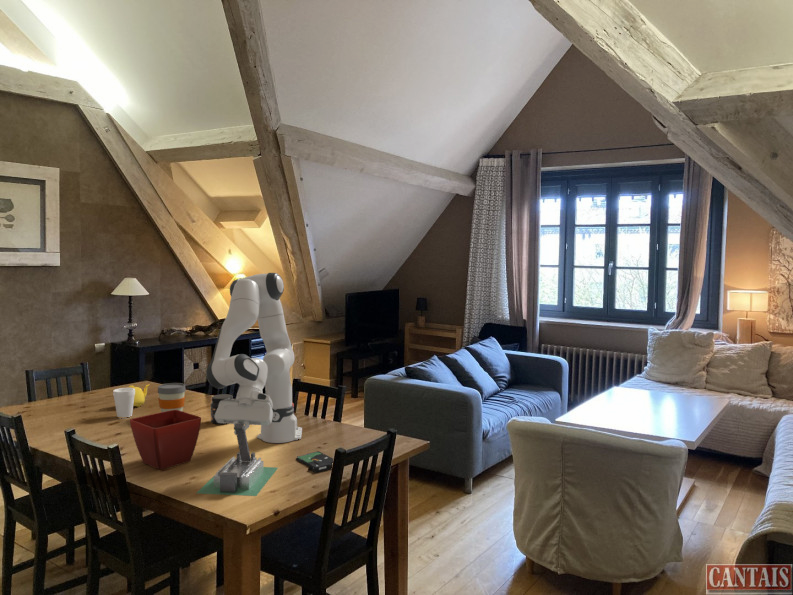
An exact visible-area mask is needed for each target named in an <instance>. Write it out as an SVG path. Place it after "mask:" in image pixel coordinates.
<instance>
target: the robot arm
mask: <svg viewBox="0 0 793 595" xmlns="http://www.w3.org/2000/svg"><path fill="white" fill-rule="evenodd" d="M284 291H285V285H284V280H283V278H282V276H281V275H280V274H279V273H277V272H268V273H257V274H253V275H250V276H249V275H248V276H246V277H241V278H236V279H235V280H233V281H232V282H231V283H230V286H229V295H230V301H229V308H228V311H227V314H226V317H225V319H224V321H223V323H222V325H221V327H220V329H219V332H218V335H217V338H216V343H215V347H214V351H213V353H212V357H211V360H210V362H209V363H208V365H207V368H206V372H205V373H206V374H205V375H206V380H207V381H208V384H210V385H211V386H212V387H214V388H215V389H219V390H222V389H224V388H227V387H228V386H231V385H234V384H238V385H239V387H238V390H237V393H236V397H235V398H233V399H224V400H221V401H220V402H219V405H218V408H217V411H216V413H215V416H214V417H215V420H216V421H217V423H227V425H230V424H231V425H233V427H234V426H235V424H244V426H245V432H246V431H247V430H248V429H249V427H250V425H252V426H253V425H254V426H260V433H259V434H257V436H256V438H257V439H259V440H261V441H263V442H265V443H268V444H269V443H271V444H282V443H288V442H293V441H298V439H299V440H301V439H302V433H303V427H300V426H298V418H297V417H296V415H295V414H294V413H295V412H294V407H295V406H294V405H295V404H294V402H293V385H292V381H291V374H290V370H291V367H292V366H293V365H294V364H295V363H294V362H295V358H296V357H295V352H294V349H293V345H292V342H291V340H290V337H289V333H288V330H287V324H286V319H285V315H284V314H285V313H284V310H283V309H284V308H283V305H282V302H281V299H280V298H281V297H282V295H283V293H284ZM256 322H257V324H258V325H257V326H258V329H259V330H258V331H259V335H260V338H261V340H262V341H263V344H264V346H265V350H266V353H265V354H264V356H263V357H262V358H258V357H252V358H251V357H250V356H248V355H247V354H244V353H240V354H236V355H232V356H231V352H232V348H233V345H234V343H235V342H236V340H237V339H238V338H239V337H240V336H241V335H242V334H244V333H245V332H246V331H249V329H250V328H252V327H253V326H254V325H255V324H256ZM264 388H265V393H263V389H264ZM233 430H234V429H233ZM233 434H234V436H235V435H236V430H234V431H233ZM236 436H237V435H236Z"/></svg>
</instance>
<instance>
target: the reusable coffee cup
mask: <svg viewBox="0 0 793 595" xmlns="http://www.w3.org/2000/svg"><path fill="white" fill-rule="evenodd" d="M185 393H186V385H185V383H181V382H170V383H162V384H159V385H158V387H157V394H158V398H157V399H158V404H159V409H160V413H161V412H165V411H170V410H179V411H182V412H184V410H183V409H184V406H185V399H186V396H185Z"/></svg>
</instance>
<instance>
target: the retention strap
mask: <svg viewBox="0 0 793 595" xmlns="http://www.w3.org/2000/svg"><path fill="white" fill-rule="evenodd" d="M233 430H236V439H237V445H238V450H239V452H240V455H241V461H251V453H250V448H249V444H248V443H249V442H248V438H247V433H246V431H245V426H244V424H235V426H234V425H233Z"/></svg>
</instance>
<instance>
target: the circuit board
mask: <svg viewBox="0 0 793 595" xmlns="http://www.w3.org/2000/svg"><path fill="white" fill-rule="evenodd" d="M263 468H264V472H263V473H262V475H261V476H260V477H259V478H258V479H257V481H256V482H255V483H254V484H253V485H252V487H251V488H250V489H237V492H236V493H220V488H214V475H213V476H212V477H211V478H210V479H209V480H208V481H207V482H206V483H205V484H204V485H203V486H202V487H200V489H198V490H197V491H196V493H195V494H202V495H223V496H244V497H245V496H246V497H247V496H249V497H250V496H251V497H257V496H258V494H259V493H260V492H261V490H262V489H263V488H264V487H265V486H266V484H268V482H269V480H270V479H271V478H272V477H273V475H274V474H275V473H276V472H277V470H278V469H279V467H273V466H263Z"/></svg>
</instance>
